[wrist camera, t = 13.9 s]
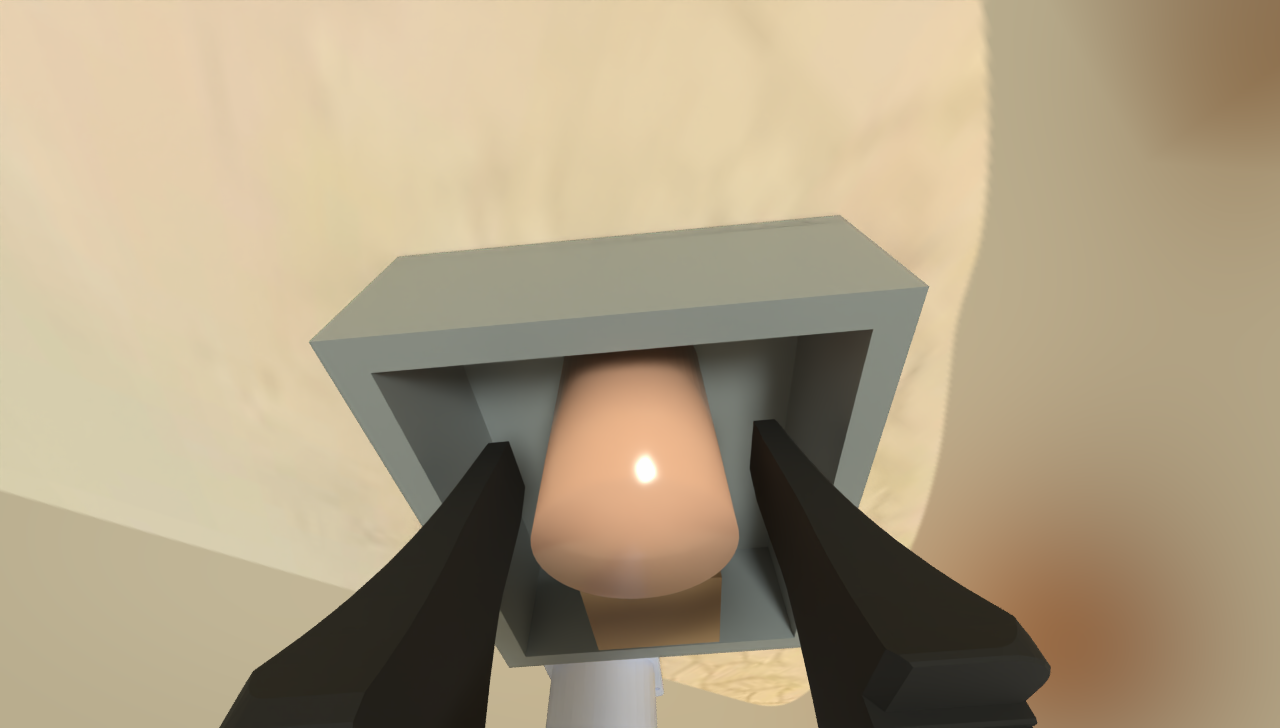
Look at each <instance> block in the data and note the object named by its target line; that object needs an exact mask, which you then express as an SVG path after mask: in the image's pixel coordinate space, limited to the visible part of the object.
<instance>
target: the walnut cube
mask: <svg viewBox="0 0 1280 728" xmlns="http://www.w3.org/2000/svg"><path fill="white" fill-rule="evenodd" d="M721 586H722V576H721V570H720V571H719V572H718V573H717V574H716V575H714V576H713V577H711V578H710V579H708V580H706V581H704V582H703V583H701V584H699V585H696V586H694V587H692V588H689V589H686V590H683V591H680V592H677V593H673V594H669V595H664V596H659V597H651V598H639V599H620V598H609V597H603V596H597V595H593V594H589V593H585V592H582V591H580V593H581V596H582V599H583V603H584V606H585V609H586V612H587V615H588V618H589V621H590V624H591V627H592V631H593V634H594V637H595V640H596V643H597V646H598V649H599V650H610V649H624V648H638V647H652V646H666V645H680V644H694V643H708V642H719V640H720V613H721Z"/></svg>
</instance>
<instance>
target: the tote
mask: <svg viewBox="0 0 1280 728" xmlns="http://www.w3.org/2000/svg"><path fill="white" fill-rule="evenodd" d="M928 288H929V286H928V285H927V284H925V283H924V282H923V281H922V280H921V279H919V278H918V277H917V276H916V275H914V274H913V273H912V272H911V271H909V270H908V269H907V268H906V267H904V266H903V265H902V264H901V263H899V262H898V261H897V260H896V259H894V258H893V257H892V256H891V255H889V254H888V253H887V252H886V251H884V250H883V249H882V248H881V247H879V246H878V245H877V244H876V243H874V242H873V241H872V240H871V239H869V238H868V237H867V236H866V235H864V234H863V233H862V232H861V231H859V230H858V229H857V228H856V227H854V226H853V225H852V224H851V223H849V222H848V221H847V220H846V219H844V218H843V217H842V216H841V215H837V216H826V217H816V218H805V219H795V220H784V221H773V222H763V223H752V224H741V225H731V226H720V227H710V228H699V229H688V230H678V231H667V232H656V233H646V234H635V235H625V236H614V237H603V238H593V239H582V240H571V241H561V242H550V243H540V244H529V245H518V246H508V247H497V248H486V249H476V250H465V251H455V252H444V253H433V254H423V255H412V256H402V257H397V258H396V259H395V260H394V261H393V262H392V263H391V264H390V265H389V266H388V267H387V268H386V269H385V270H384V271H383V272H382V273H381V274H379V275H378V276H377V277H376V278H375V279H374V280H373V281H372V282H371V283H370V284H369V285H368V286H367V287H366V288H365V289H364V290H363V291H362V292H361V293H360V294H359V295H357V296H356V297H355V298H354V299H353V300H352V301H351V302H350V303H349V304H348V305H347V306H346V307H345V308H344V309H343V310H342V311H341V312H340V313H339V314H338V315H336V316H335V317H334V318H333V319H332V320H331V321H330V322H329V323H328V324H327V325H326V326H325V327H324V328H323V329H322V330H321V331H320V332H319V333H318V334H317V335H316V336H314V337H313V338H312V339H311V340H310V341H309V343H310V345H311V346H312V348H313V350H314V351H315V353H316V355H317V356H318V358H319V359H320V361H321V363H322V364H323V366H324V368H325V369H326V371H327V372H328V374H329V376H330V377H331V379H332V381H333V382H334V384H335V385H336V387H337V389H338V390H339V392H340V394H341V395H342V397H343V398H344V400H345V402H346V403H347V405H348V407H349V408H350V410H351V411H352V413H353V415H354V416H355V418H356V420H357V421H358V423H359V424H360V426H361V428H362V429H363V431H364V433H365V434H366V436H367V437H368V439H369V441H370V442H371V444H372V445H373V447H374V449H375V450H376V452H377V454H378V455H379V457H380V458H381V460H382V462H383V463H384V465H385V467H386V468H387V470H388V471H389V473H390V475H391V476H392V478H393V480H394V481H395V483H396V484H397V486H398V488H399V489H400V491H401V493H402V494H403V496H404V497H405V499H406V501H407V502H408V504H409V506H410V507H411V509H412V510H413V512H414V514H415V515H416V517H417V519H418V520H419V522H420V523H421V525H422V527H423V525H424V524H425V523H426V522H427V521H428V520H429V518H430V517H431V516H432V515H433V514H434V513H435V511H436V510H437V509H438V508H439V507H440V506H441V504H442V503H443V502H444V501H445V499H446V498H447V497H448V495H449V494H450V493H451V492H452V490H453V489H454V488H455V487H456V485H457V484H458V483H459V481H460V480H461V479H462V477H463V476H464V475H465V473H466V472H467V471H468V469H469V468H470V467H471V465H472V464H473V463H474V461H475V460H476V459H477V457H478V456H479V455H480V453H481V452H482V451H483V449H484V448H485V447H486V445H487V444H488V443H493V442H505V441H509V443H510V446H511V448H512V451H513V454H514V457H515V459H516V462H517V465H518V468H519V471H520V473H521V476H522V479H523V482H524V485H525V493H524V503H523V511H522V518H521V523H520V528H519V532H518V536H517V540H516V544H515V548H514V552H513V556H512V560H511V564H510V568H509V572H508V576H507V580H506V584H505V588H504V592H503V597H502V602H501V607H500V612H499V619H498V625H497V632H496V639H495V645H496V647H497V648H498V650H499V651H500V653H501V655H502V656H503V658H504V660H505V661H506V663H507V665H508V666H509V667H510V668H512V667H526V666H539V665H555V664H569V663H583V662H597V661H612V660H626V659H640V658H655V657H669V656H683V655H698V654H712V653H726V652H741V651H755V650H769V649H784V648H798V647H801V645H800V641H799V637H798V633H797V628H796V624H795V620H794V616H793V612H792V608H791V604H790V600H789V596H788V592H787V588H786V585H785V582H784V578H783V575H782V572H781V569H780V566H779V563H778V561H777V558H776V555H775V552H774V549H773V546H772V543H771V541H770V538H769V535H768V532H767V529H766V526H765V524H764V521H763V518H762V515H761V512H760V509H759V506H758V503H757V500H756V496H755V491H754V487H753V482H752V478H751V473H750V469H749V468H750V456H751V444H752V432H753V421H757V420H769V419H775V420H776V421H777V422H778V423H779V424H780V425H781V426H782V428H783V429H784V430H785V431H786V433H787V434H788V435H789V436H790V438H791V439H792V440H793V441H794V442H795V444H796V445H797V446H798V447H799V448H800V449H801V451H802V452H803V453H804V454H805V455H806V456H807V457H808V459H809V460H810V461H811V462H812V463H813V464H814V465H815V466H816V467H817V468H818V469H819V471H820V472H821V473H822V474H823V475H824V476H825V477H826V478H827V479H828V480H829V481H830V482H831V483H832V484H833V485H834V486H835V487H836V488H837V489H838V490H839V491H840V492H841V493H842V494H843V495H844V496H845V497H846V498H847V499H848V500H849V501H850V502H852V503H853V504H854V505H855V506H856V507H857V508H858V507H859V504H860V501H861V498H862V495H863V491H864V488H865V485H866V482H867V479H868V476H869V473H870V470H871V466H872V463H873V460H874V457H875V454H876V451H877V448H878V445H879V441H880V438H881V435H882V432H883V429H884V426H885V423H886V419H887V416H888V413H889V410H890V407H891V404H892V401H893V398H894V394H895V391H896V388H897V385H898V382H899V379H900V376H901V373H902V369H903V366H904V363H905V360H906V357H907V354H908V351H909V348H910V344H911V341H912V338H913V335H914V332H915V329H916V326H917V323H918V319H919V316H920V313H921V310H922V307H923V304H924V301H925V298H926V294H927V291H928ZM686 345H693V346H694V348H695V350H696V353H697V356H698V360H699V364H700V369H701V373H702V377H703V381H704V386H705V390H706V394H707V398H708V403H709V407H710V411H711V415H712V419H713V424H714V428H715V432H716V436H717V441H718V445H719V449H720V453H721V457H722V462H723V466H724V470H725V474H726V479H727V483H728V487H729V491H730V495H731V500H732V504H733V508H734V512H735V517H736V521H737V525H738V529H739V541H738V546H737V549H736V551H735V554H734V555H733V557H732V558H731V560H730V561H729V562H728V564H727V565H726V566H725V567H724V568H723V569H722V570H721V576H722V586H721V613H720V640H719V642H708V643H694V644H680V645H666V646H652V647H638V648H624V649H610V650H599V649H598V646H597V643H596V640H595V637H594V634H593V631H592V627H591V624H590V621H589V618H588V615H587V612H586V609H585V606H584V603H583V599H582V596H581V593H580V591H579V590H576V589H573V588H571V587H569V586H566V585H564V584H563V583H561V582H559V581H557V580H556V579H554V578H553V577H552V576H550V575H549V574H548V573H547V572H546V571H545V570H543V569H542V567H541V566H540V565H539V563H538V562H537V561H536V559H535V557H534V555H533V552H532V548H531V533H532V528H533V523H534V517H535V512H536V506H537V501H538V496H539V490H540V485H541V480H542V474H543V469H544V463H545V458H546V453H547V447H548V442H549V437H550V431H551V426H552V421H553V415H554V410H555V404H556V399H557V394H558V388H559V383H560V378H561V372H562V367H563V361H564V357H565V356H571V355H583V354H594V353H606V352H617V351H628V350H640V349H651V348H663V347H674V346H686Z"/></svg>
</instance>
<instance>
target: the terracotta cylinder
mask: <svg viewBox="0 0 1280 728" xmlns="http://www.w3.org/2000/svg"><path fill="white" fill-rule="evenodd" d="M738 541H739V529H738V525H737V521H736V517H735V512H734V508H733V504H732V500H731V495H730V491H729V487H728V483H727V479H726V474H725V470H724V466H723V462H722V457H721V453H720V449H719V445H718V441H717V436H716V432H715V428H714V424H713V419H712V415H711V411H710V407H709V403H708V398H707V394H706V390H705V386H704V381H703V377H702V373H701V369H700V364H699V360H698V356H697V353H696V350H695V348H694V346H693V345H686V346H674V347H663V348H651V349H640V350H628V351H617V352H606V353H594V354H583V355H571V356H565V357H564V361H563V367H562V372H561V378H560V383H559V388H558V394H557V399H556V404H555V410H554V415H553V421H552V426H551V431H550V437H549V442H548V447H547V453H546V458H545V463H544V469H543V474H542V480H541V485H540V490H539V496H538V501H537V506H536V512H535V517H534V523H533V528H532V533H531V548H532V552H533V555H534V557H535V559H536V561H537V562H538V563H539V565H540V566H541V567H542V569H543V570H545V571H546V572H547V573H548V574H549V575H550V576H552V577H553V578H554V579H556V580H557V581H559V582H561V583H563V584H564V585H566V586H569V587H571V588H573V589H576V590H579V591H582V592H585V593H589V594H593V595H597V596H603V597H609V598H620V599H639V598H651V597H659V596H664V595H669V594H673V593H677V592H680V591H683V590H686V589H689V588H692V587H694V586H696V585H699V584H701V583H703V582H704V581H706V580H708V579H710V578H711V577H713V576H714V575H716V574H717V573H718V572H719V571H720V570H722V569H723V568H724V567H725V566H726V565H727V564H728V562H729V561H730V560H731V558H732V557H733V555H734V554H735V551H736V549H737V546H738Z"/></svg>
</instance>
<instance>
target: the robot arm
mask: <svg viewBox="0 0 1280 728" xmlns="http://www.w3.org/2000/svg"><path fill="white" fill-rule="evenodd" d="M749 469H750V473H751V478H752V482H753V487H754V491H755V496H756V500H757V503H758V506H759V509H760V512H761V515H762V518H763V521H764V524H765V526H766V529H767V532H768V535H769V538H770V541H771V543H772V546H773V549H774V552H775V555H776V558H777V561H778V563H779V566H780V569H781V572H782V575H783V578H784V582H785V585H786V588H787V592H788V596H789V600H790V604H791V608H792V612H793V616H794V620H795V624H796V628H797V633H798V637H799V641H800V645H801V650H802V654H803V658H804V662H805V667H806V672H807V676H808V681H809V685H810V690H811V694H812V699H813V703H814V708H815V713H816V718H817V723H818V727H819V728H1033V727H1032V726H1035V725H1036V724H1037V720H1036V717H1035V716H1034V714H1033V712H1032V711H1031V709H1030V707H1029V706H1028V704H1027V702H1026V700H1027V699H1028V698H1029V697H1030V696H1032V695H1033V694H1034V693H1035V692H1036V691H1037V690H1038V689H1039V688H1040V687H1042V686H1043V684H1044V683H1045V682H1046V681H1047V680H1048V678H1049V676H1050V669H1051V667H1050V665H1049V664H1048V662H1047V661H1046V659H1045V658H1044V656H1043V655H1042V653H1041V652H1040V651H1039V649H1038V648H1037V646H1036V644H1035V643H1034V642H1033V640H1032V639H1031V637H1030V636H1029V635H1028V633H1027V632H1026V631H1025V630H1024V628H1022V626H1021V625H1020V624H1019V622H1018V621H1017V620H1016V618H1015V617H1014V616H1013V615H1010V614H1009V613H1008V612H1006V611H1004V610H1002V609H1001V608H999V607H997V606H996V605H994V604H992V603H990V602H989V601H987V600H985V599H984V598H982V597H980V596H979V595H977V594H975V593H973V592H972V591H970V590H968V589H966V588H965V587H963V586H962V585H960V584H959V583H957V582H956V581H954V580H952V579H951V578H949V577H948V576H946V575H945V574H943V573H942V572H940V571H939V570H937V569H936V568H934V567H932V566H931V565H930V564H928V563H927V562H926V561H924V560H923V559H922V558H920V557H919V556H917V555H916V554H914V553H913V552H912V551H910V550H909V549H908V548H906V547H905V546H903V545H902V544H901V543H899V542H898V541H897V540H895V539H894V538H893V537H892V536H890V535H889V534H888V533H887V532H885V531H884V530H883V529H882V528H880V527H879V526H878V525H877V524H876V523H874V522H873V521H872V520H871V519H870V518H868V517H867V516H866V515H865V514H864V513H863V512H862V511H860V510H859V509H858V508H857V507H856V506H855V505H854V504H853V503H852V502H850V501H849V500H848V499H847V498H846V497H845V496H844V495H843V494H842V493H841V492H840V491H839V490H838V489H837V488H836V487H835V486H834V485H833V484H832V483H831V482H830V481H829V480H828V479H827V478H826V477H825V476H824V475H823V474H822V473H821V472H820V471H819V469H818V468H817V467H816V466H815V465H814V464H813V463H812V462H811V461H810V460H809V459H808V457H807V456H806V455H805V454H804V453H803V452H802V451H801V449H800V448H799V447H798V446H797V445H796V444H795V442H794V441H793V440H792V439H791V438H790V436H789V435H788V434H787V433H786V431H785V430H784V429H783V428H782V426H781V425H780V424H779V423H778V422H777V421H776V420H775V419H769V420H757V421H753V432H752V444H751V456H750V468H749ZM524 493H525V485H524V482H523V479H522V476H521V473H520V471H519V468H518V465H517V462H516V459H515V457H514V454H513V451H512V448H511V446H510V443H509V441H505V442H493V443H488V444H487V445H486V447H485V448H484V449H483V451H482V452H481V453H480V455H479V456H478V457H477V459H476V460H475V461H474V463H473V464H472V465H471V467H470V468H469V469H468V471H467V472H466V473H465V475H464V476H463V477H462V479H461V480H460V481H459V483H458V484H457V485H456V487H455V488H454V489H453V490H452V492H451V493H450V494H449V495H448V497H447V498H446V499H445V501H444V502H443V503H442V504H441V506H440V507H439V508H438V509H437V510H436V511H435V513H434V514H433V515H432V516H431V517H430V518H429V520H428V521H427V522H426V523H425V524H424V525H423V527H422V528H421V529H420V530H419V531H418V532H417V533H416V535H415V536H414V537H413V538H412V539H411V540H410V541H409V542H408V543H407V544H406V545H405V546H404V547H403V549H402V550H401V551H400V552H399V553H398V554H397V555H396V556H395V557H394V558H393V559H392V560H391V561H390V562H389V563H388V564H387V565H386V566H384V567H383V568H382V569H381V570H380V571H379V572H378V573H377V574H376V575H375V576H374V577H372V578H371V579H370V580H369V581H368V582H367V583H366V584H365V585H364V586H363V587H361V588H360V589H359V590H358V591H357V592H356V593H355V594H354V595H353V596H351V597H350V598H349V599H348V600H347V601H346V602H344V603H343V604H342V605H341V606H339V607H338V608H337V609H336V610H335V611H333V612H332V613H331V614H330V615H328V616H327V617H326V618H325V619H323V620H322V621H321V622H320V623H318V624H317V625H316V626H315V627H313V628H312V629H311V630H309V631H308V632H307V633H305V634H304V635H303V636H301V637H300V638H299V639H297V640H296V641H295V642H293V643H292V644H290V645H289V646H288V647H286V648H285V649H284V650H282V651H281V652H279V653H278V654H277V655H275V656H274V657H272V658H271V659H270V660H268V661H267V662H266V663H264V664H263V665H261V666H260V667H258V668H257V669H255V670H254V671H253V672H252V674H251V675H250V677H249V679H248V680H247V682H246V684H245V685H244V687H243V689H242V690H241V692H240V694H239V695H238V697H237V699H236V700H235V702H234V704H233V705H232V707H231V709H230V711H229V712H228V714H227V716H226V717H225V719H224V721H223V723H222V724H221V726H220V727H219V728H485V723H486V712H487V703H488V695H489V685H490V676H491V668H492V661H493V653H494V646H495V639H496V632H497V625H498V619H499V612H500V607H501V602H502V597H503V592H504V588H505V584H506V580H507V576H508V572H509V568H510V564H511V560H512V556H513V552H514V548H515V544H516V540H517V536H518V532H519V528H520V523H521V518H522V511H523V503H524ZM544 667H545V669H546V671H547V673H548V675H549V677H550V679H551V687H550V696H549V704H548V713H547V722H546V728H657V715H656V696H661V695H663V693H664V689H663V682H662V675H661V668H660V661H659V657H655V658H640V659H626V660H612V661H597V662H583V663H569V664H555V665H544Z"/></svg>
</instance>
